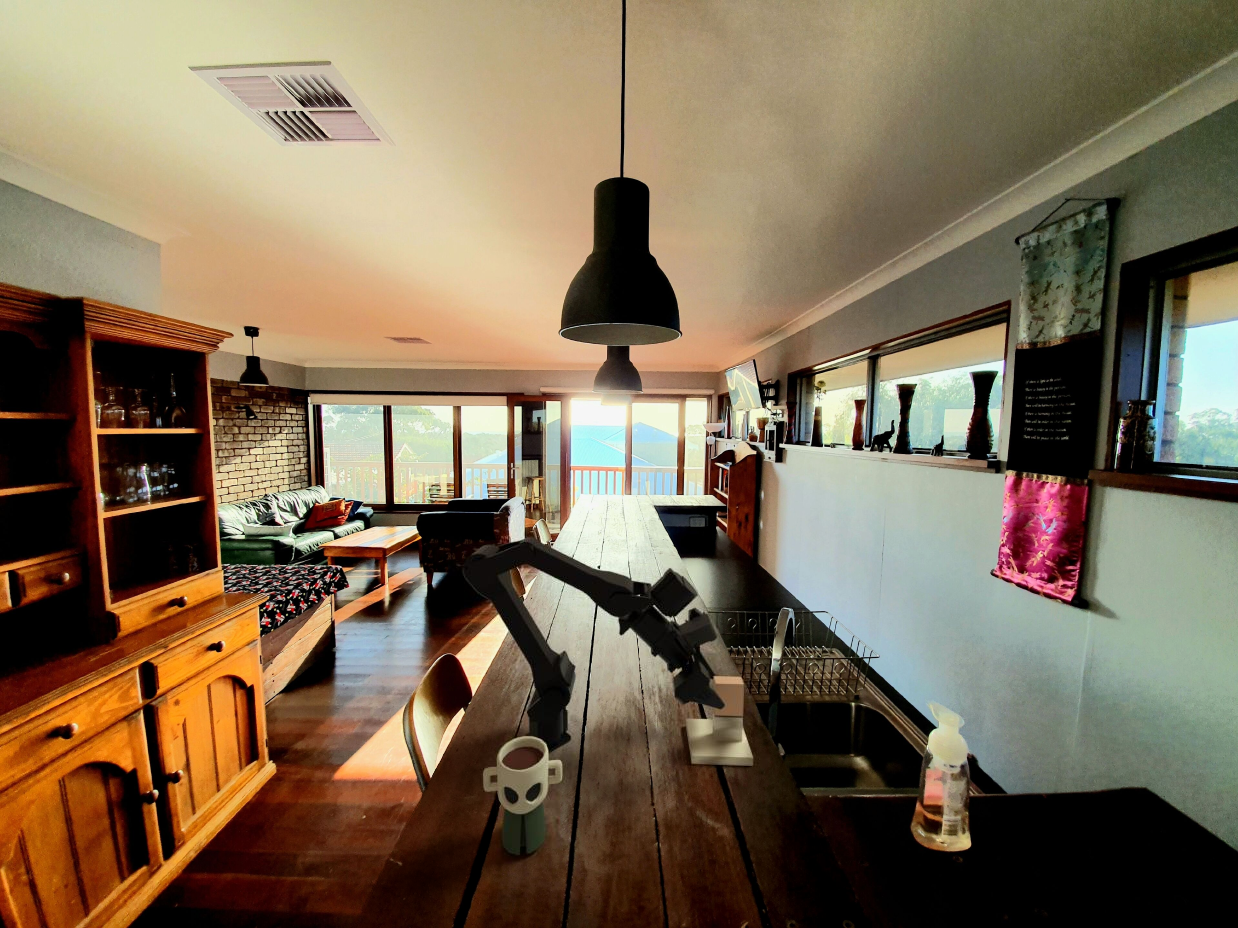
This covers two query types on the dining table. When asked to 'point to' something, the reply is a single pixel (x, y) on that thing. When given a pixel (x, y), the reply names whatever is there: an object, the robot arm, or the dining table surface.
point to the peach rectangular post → (729, 695)
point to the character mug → (523, 791)
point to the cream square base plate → (718, 741)
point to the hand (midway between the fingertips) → (718, 691)
